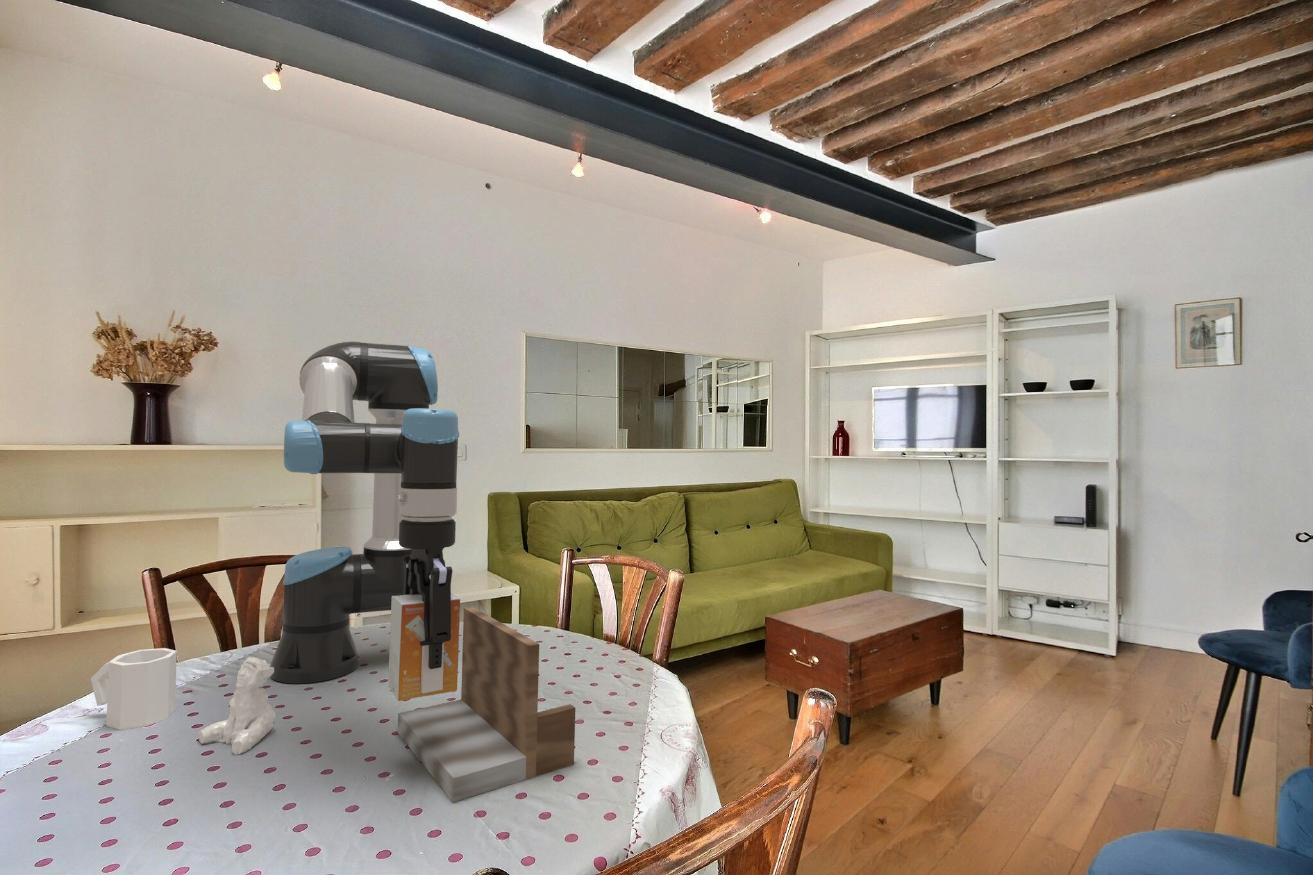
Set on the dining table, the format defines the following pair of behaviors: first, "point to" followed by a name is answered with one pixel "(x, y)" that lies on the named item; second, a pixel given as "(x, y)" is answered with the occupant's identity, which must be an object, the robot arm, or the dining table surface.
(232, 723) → the sitting furry creature
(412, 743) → the wall board
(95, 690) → the mug
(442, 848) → the dining table surface
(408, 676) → the small box
